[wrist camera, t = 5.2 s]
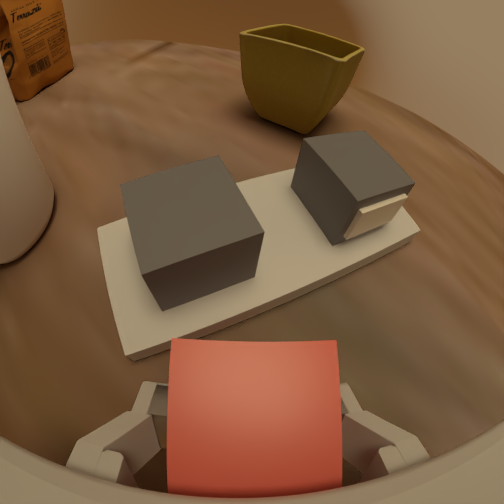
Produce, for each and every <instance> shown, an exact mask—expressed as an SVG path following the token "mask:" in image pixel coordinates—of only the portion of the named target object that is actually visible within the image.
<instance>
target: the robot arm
mask: <svg viewBox="0 0 504 504" xmlns="http://www.w3.org/2000/svg"><path fill="white" fill-rule="evenodd" d="M340 395H341V416H342V457H343V458H344V459H345V460H346V461H347V462H349V463H350V464H351V465H352V466H354V467H355V468H356V469H357V470H359V471H360V472H361V473H362V474H363V476H362V477H361V479H360V480H359V481H358V483H357V484H353V485H349V486H345V487H340V488H335V489H330V490H325V491H319V492H312V493H305V494H298V495H289V496H278V497H263V498H212V497H197V496H186V495H177V494H170V493H163V492H157V491H151V490H145V489H140V488H139V486H138V485H137V483H136V481H135V479H134V477H133V475H134V474H135V473H136V472H137V471H138V470H139V469H141V468H142V467H143V466H144V465H145V464H146V463H147V462H148V461H149V460H150V459H151V458H152V457H153V456H154V455H155V454H156V453H158V452H159V451H160V450H161V449H160V448H163V449H167V407H168V384H165V383H155V382H149V381H144V382H143V383H142V385H141V387H140V390H139V392H138V395H137V397H136V400H135V403H134V405H133V408H132V410H131V411H126V412H124V413H123V414H121V415H120V416H118V417H116V418H115V419H113V420H111V421H110V422H108V423H106V424H105V425H103V426H101V427H100V428H98V429H96V430H94V431H93V432H91V433H89V434H87V435H86V436H84V437H82V438H80V439H79V440H77V442H76V444H75V447H74V449H73V451H72V453H71V455H70V457H69V459H68V461H67V464H66V466H62V465H59V464H57V463H55V462H52V461H50V460H47V459H45V458H43V457H41V456H39V455H36V454H34V453H32V452H30V451H28V450H26V449H24V448H22V447H20V446H18V445H16V444H15V443H13V442H11V441H9V440H7V439H6V438H4V437H2V436H0V504H504V420H502V421H501V422H499V423H498V424H496V425H495V426H493V427H491V428H490V429H488V430H486V431H485V432H483V433H481V434H480V435H478V436H476V437H474V438H473V439H471V440H469V441H467V442H465V443H463V444H461V445H459V446H458V447H456V448H454V449H451V450H449V451H447V452H445V453H443V454H441V455H439V456H436V457H434V458H432V459H431V458H430V456H429V455H428V453H427V452H426V450H425V449H424V447H423V446H422V444H421V442H420V441H419V439H418V438H417V436H415V435H413V434H411V433H409V432H407V431H405V430H403V429H401V428H399V427H397V426H395V425H393V424H391V423H389V422H387V421H385V420H383V419H381V418H380V417H378V416H376V415H374V414H372V413H370V412H369V411H367V410H366V411H363V410H362V408H361V407H360V405H359V403H358V401H357V399H356V398H355V396H354V394H353V392H352V390H351V389H350V387H349V385H348V384H347V383H340Z"/></svg>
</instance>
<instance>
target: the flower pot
mask: <svg viewBox="0 0 504 504" xmlns="http://www.w3.org/2000/svg"><path fill="white" fill-rule="evenodd" d="M239 35H240V53H241V69H242V80H243V85H244V88H245V91H246V94H247V96H248V99H249V101H250V103H251V104H252V106H253V108H254V109H255V111H256V112H257V114H258V115H259V116H260V117H262V118H264V119H267V120H269V121H272V122H275V123H277V124H280V125H282V126H285V127H287V128H290V129H292V130H294V131H297V132H299V133H302V134H307V133H309V132H310V131H311V130H312V129H313V128H315V126H316V125H317V124H318V123H319V122H320V121H321V120H322V119H323V118H324V117H325V116H326V115H327V114H328V113H329V112H330V110H331V109H332V108H333V107H334V106H335V105H336V104H337V103H338V102H339V100H340V99H341V98H342V97H343V95H344V94H345V92H346V90H347V89H348V87H349V85H350V83H351V81H352V78H353V76H354V74H355V72H356V69H357V67H358V65H359V63H360V61H361V58H362V56H363V54H364V52H365V49H364V48H363V47H360V46H358V45H355V44H353V43H350V42H347V41H344V40H341V39H338V38H335V37H332V36H329V35H326V34H323V33H319V32H316V31H312V30H309V29H305V28H301V27H297V26H293V25H289V24H277V25H270V26H266V27H260V28H256V29H251V30H247V31H244V32H241V33H240V34H239Z"/></svg>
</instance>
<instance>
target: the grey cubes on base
mask: <svg viewBox="0 0 504 504" xmlns="http://www.w3.org/2000/svg"><path fill="white" fill-rule="evenodd" d="M414 184H415V182H414V181H413V180H412V178H411V177H410V176H409V175H408V174H407V173H406V172H405V171H404V170H403V169H402V167H401V166H400V165H399V164H398V163H397V162H396V161H395V160H394V159H393V158H392V157H391V156H390V155H389V154H388V153H387V152H386V151H385V150H384V149H383V148H382V147H381V146H380V145H379V144H378V143H377V142H376V141H375V140H374V139H373V138H372V137H371V136H370V135H369V134H368V133H367V132H366V131H354V132H345V133H337V134H330V135H322V136H315V137H309V138H303V141H302V145H301V149H300V153H299V157H298V160H297V164H296V168H294V169H290V170H286V171H281V172H277V173H273V174H269V175H265V176H261V177H257V178H253V179H249V180H246V181H242V182H238V183H235V181H234V180H233V178H232V176H231V175H230V173H229V171H228V170H227V168H226V166H225V165H224V163H223V161H222V160H221V158H220V157H219V156H215V157H211V158H207V159H203V160H199V161H195V162H192V163H188V164H184V165H181V166H177V167H174V168H171V169H167V170H164V171H161V172H157V173H154V174H151V175H148V176H145V177H142V178H138V179H135V180H132V181H130V182H127V183H124V184H121V185H120V186H121V192H122V197H123V202H124V207H125V212H126V216H127V217H126V218H123V219H121V220H118V221H115V222H112V223H110V224H107V225H104V226H102V227H99V228H97V231H98V238H99V245H100V251H101V257H102V263H103V268H104V274H105V279H106V283H107V288H108V293H109V297H110V302H111V306H112V310H113V314H114V318H115V322H116V325H117V329H118V333H119V336H120V340H121V343H122V347H123V350H124V353H125V356H127V357H128V358H130V359H132V360H134V361H136V360H139V359H142V358H145V357H148V356H151V355H154V354H157V353H160V352H162V351H165V350H168V349H171V339H172V338H180V339H194V340H195V339H198V338H201V337H203V336H206V335H208V334H211V333H214V332H216V331H219V330H221V329H224V328H226V327H229V326H231V325H234V324H236V323H239V322H241V321H244V320H246V319H248V318H251V317H253V316H256V315H258V314H260V313H263V312H265V311H267V310H270V309H272V308H274V307H277V306H279V305H281V304H284V303H286V302H288V301H290V300H293V299H295V298H297V297H299V296H301V295H304V294H306V293H308V292H310V291H312V290H315V289H317V288H319V287H321V286H323V285H325V284H327V283H330V282H332V281H334V280H336V279H338V278H340V277H342V276H344V275H346V274H348V273H350V272H352V271H354V270H356V269H358V268H360V267H362V266H364V265H366V264H368V263H370V262H372V261H374V260H376V259H378V258H380V257H382V256H384V255H386V254H388V253H390V252H392V251H394V250H396V249H397V248H399V247H401V246H403V245H405V244H407V243H409V242H410V241H411V240H412V239H413V238H414V237H415V236H416V235H417V234H418V232H419V231H420V229H419V227H418V226H417V225H416V223H415V222H414V221H413V219H412V218H411V217H410V216H409V214H408V213H407V212H406V210H405V209H404V208H403V207H402V205H403V204H404V202H405V201H406V199H407V198H408V197H407V195H408V193H409V192H410V190H411V189H412V187H413V186H414Z"/></svg>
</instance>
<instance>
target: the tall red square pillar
mask: <svg viewBox="0 0 504 504" xmlns="http://www.w3.org/2000/svg"><path fill="white" fill-rule="evenodd" d="M167 486H168V493H170V494H177V495H186V496H197V497H212V498H263V497H278V496H289V495H298V494H305V493H312V492H319V491H325V490H330V489H335V488H340V487H342V416H341V395H340V378H339V365H338V353H337V342H336V340H328V341H301V342H240V341H213V340H194V339H180V338H172V339H171V352H170V366H169V383H168V407H167Z"/></svg>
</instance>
